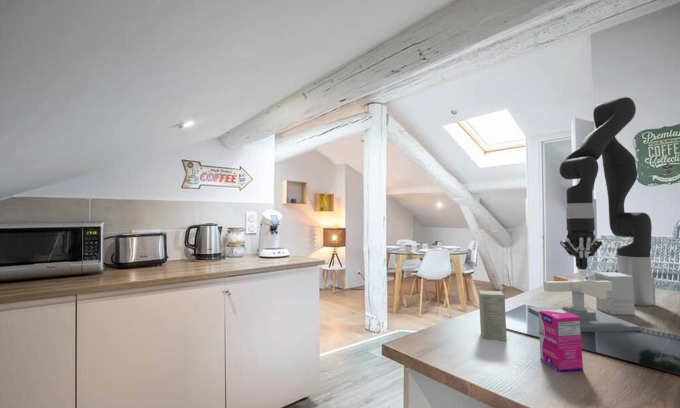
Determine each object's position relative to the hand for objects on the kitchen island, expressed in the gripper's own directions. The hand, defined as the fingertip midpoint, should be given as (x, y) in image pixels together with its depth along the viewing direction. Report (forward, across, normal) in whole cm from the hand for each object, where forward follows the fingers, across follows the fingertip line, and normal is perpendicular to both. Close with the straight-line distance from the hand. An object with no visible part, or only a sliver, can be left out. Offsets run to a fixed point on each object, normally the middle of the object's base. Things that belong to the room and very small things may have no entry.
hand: (581, 269), depth 108 cm
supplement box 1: (+16, +32, +36) cm, 50 cm away
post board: (+15, +6, +6) cm, 17 cm away
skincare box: (+16, +39, +19) cm, 46 cm away
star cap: (+6, +6, +6) cm, 10 cm away
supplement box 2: (+15, -12, -2) cm, 19 cm away
